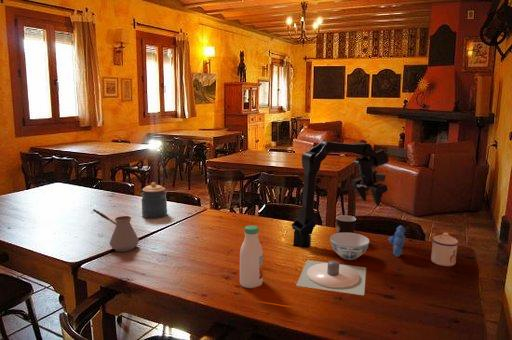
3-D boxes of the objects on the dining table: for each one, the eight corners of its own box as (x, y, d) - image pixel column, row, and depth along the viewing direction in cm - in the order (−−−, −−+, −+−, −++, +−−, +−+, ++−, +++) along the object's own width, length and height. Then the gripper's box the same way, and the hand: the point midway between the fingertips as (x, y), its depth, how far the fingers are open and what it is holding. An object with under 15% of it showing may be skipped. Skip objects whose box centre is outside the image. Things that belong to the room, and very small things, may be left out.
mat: (295, 287, 136) (295, 285, 136) (306, 261, 157) (306, 260, 157) (364, 297, 130) (364, 295, 130) (366, 269, 151) (366, 267, 151)
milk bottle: (254, 291, 133) (255, 232, 129) (235, 285, 137) (235, 228, 133) (266, 282, 140) (267, 226, 136) (247, 276, 144) (248, 222, 140)
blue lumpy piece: (389, 248, 171) (391, 220, 169) (406, 251, 168) (409, 223, 166) (384, 257, 161) (386, 228, 159) (402, 261, 158) (404, 231, 156)
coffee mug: (355, 244, 175) (356, 222, 173) (334, 242, 177) (335, 220, 175) (354, 235, 186) (355, 214, 185) (335, 233, 188) (336, 212, 186)
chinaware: (373, 255, 163) (374, 237, 162) (360, 268, 151) (362, 249, 149) (337, 247, 171) (338, 230, 170) (323, 259, 159) (324, 240, 157)
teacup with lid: (454, 268, 152) (458, 238, 150) (428, 263, 156) (431, 234, 154) (457, 257, 162) (460, 229, 160) (433, 253, 166) (435, 225, 164)
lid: (302, 283, 137) (303, 269, 136) (311, 262, 154) (311, 250, 153) (358, 291, 132) (358, 277, 131) (360, 269, 149) (361, 256, 148)
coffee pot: (144, 245, 172) (143, 211, 169) (127, 255, 161) (125, 218, 158) (104, 238, 179) (102, 205, 176) (84, 247, 169) (82, 212, 166)
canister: (164, 219, 207) (163, 185, 204) (138, 218, 207) (137, 184, 204) (169, 211, 220) (168, 179, 217) (145, 211, 220) (144, 179, 217)
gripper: (395, 168, 173) (400, 202, 177) (367, 161, 190) (372, 192, 194) (374, 176, 169) (379, 211, 173) (347, 169, 186) (353, 200, 190)
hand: (371, 203), depth 183 cm, fingers open, 9 cm apart
